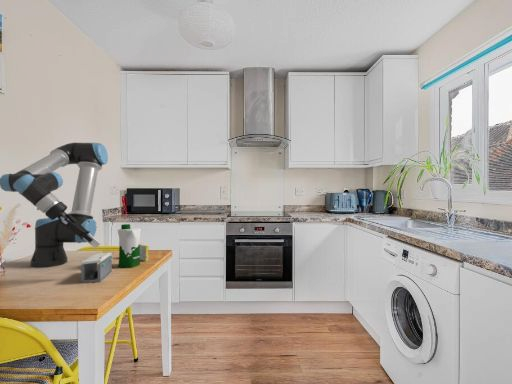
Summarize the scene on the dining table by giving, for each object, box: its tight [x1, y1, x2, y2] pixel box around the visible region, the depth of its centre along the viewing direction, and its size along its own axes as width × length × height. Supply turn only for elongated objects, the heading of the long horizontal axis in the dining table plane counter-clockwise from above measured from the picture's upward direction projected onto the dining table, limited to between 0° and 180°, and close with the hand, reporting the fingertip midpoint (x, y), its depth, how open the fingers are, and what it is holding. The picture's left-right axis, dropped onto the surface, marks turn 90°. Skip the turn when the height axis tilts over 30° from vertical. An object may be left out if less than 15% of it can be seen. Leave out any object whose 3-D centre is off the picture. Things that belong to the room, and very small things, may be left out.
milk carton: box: [117, 223, 142, 269], centre depth 147 cm, size 9×9×20 cm
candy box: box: [140, 244, 150, 263], centre depth 161 cm, size 16×2×8 cm, turn 58°
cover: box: [81, 252, 113, 265], centre depth 128 cm, size 16×7×1 cm, turn 11°
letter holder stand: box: [80, 255, 113, 284], centre depth 128 cm, size 16×8×7 cm, turn 11°
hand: (98, 246), depth 128 cm, fingers closed
